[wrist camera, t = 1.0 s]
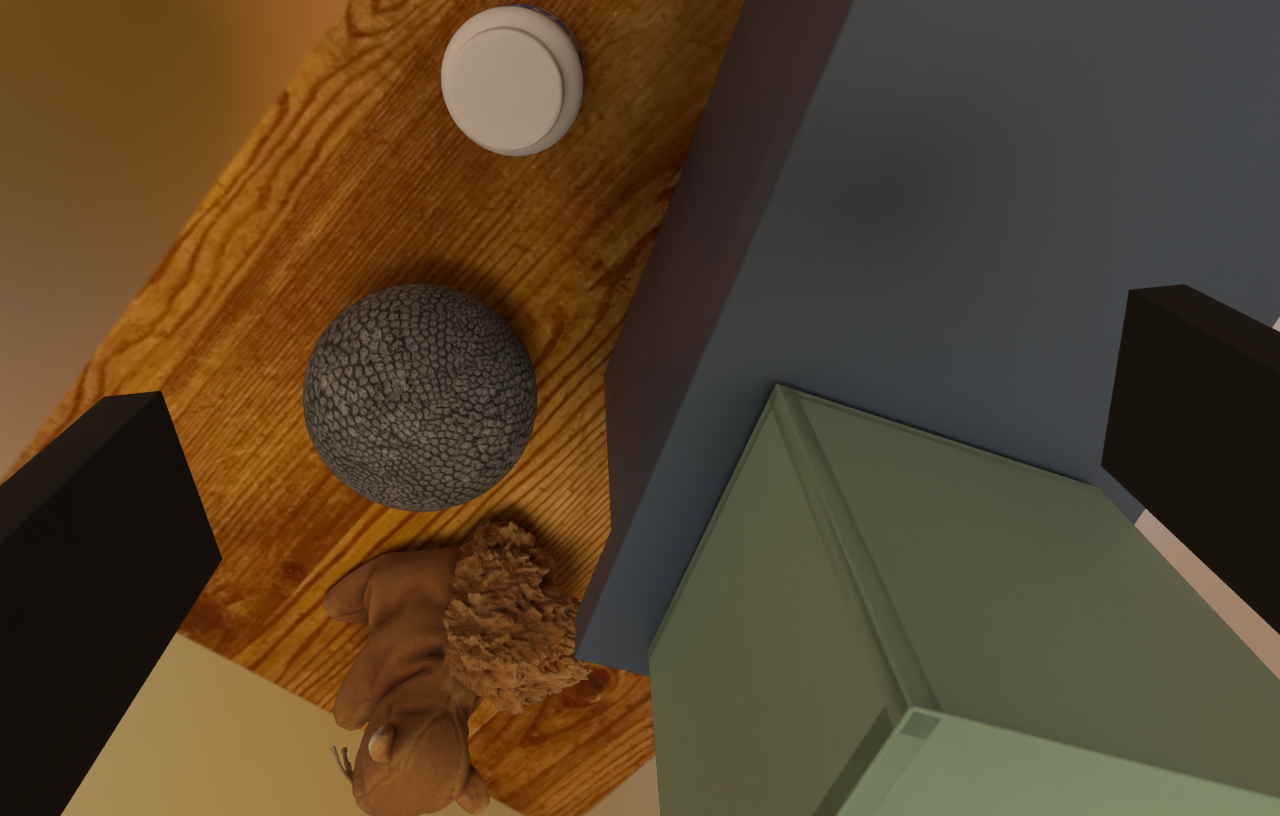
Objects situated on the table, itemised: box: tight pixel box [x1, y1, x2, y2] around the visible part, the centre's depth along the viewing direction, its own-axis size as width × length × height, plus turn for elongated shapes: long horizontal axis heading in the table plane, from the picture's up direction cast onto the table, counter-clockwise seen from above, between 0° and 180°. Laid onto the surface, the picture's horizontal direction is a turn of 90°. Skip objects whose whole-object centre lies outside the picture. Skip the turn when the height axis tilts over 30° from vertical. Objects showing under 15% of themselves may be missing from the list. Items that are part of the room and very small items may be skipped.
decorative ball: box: [303, 284, 537, 512], centre depth 39 cm, size 10×10×10 cm
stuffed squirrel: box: [323, 520, 593, 816], centre depth 44 cm, size 10×14×13 cm
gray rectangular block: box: [575, 0, 1280, 677], centre depth 32 cm, size 25×14×20 cm, turn 160°
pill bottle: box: [441, 4, 585, 156], centre depth 34 cm, size 5×5×9 cm
